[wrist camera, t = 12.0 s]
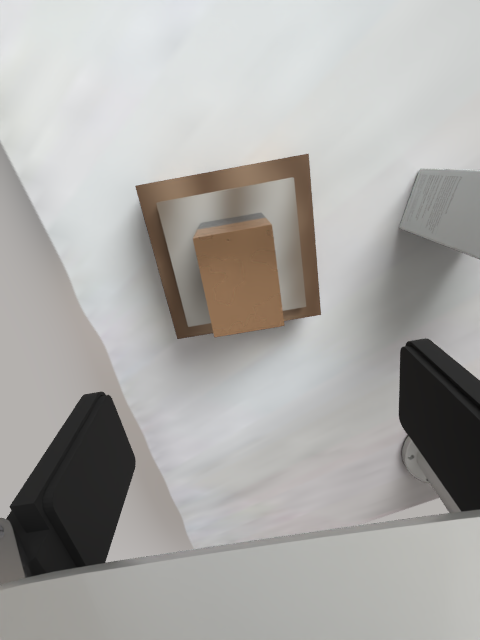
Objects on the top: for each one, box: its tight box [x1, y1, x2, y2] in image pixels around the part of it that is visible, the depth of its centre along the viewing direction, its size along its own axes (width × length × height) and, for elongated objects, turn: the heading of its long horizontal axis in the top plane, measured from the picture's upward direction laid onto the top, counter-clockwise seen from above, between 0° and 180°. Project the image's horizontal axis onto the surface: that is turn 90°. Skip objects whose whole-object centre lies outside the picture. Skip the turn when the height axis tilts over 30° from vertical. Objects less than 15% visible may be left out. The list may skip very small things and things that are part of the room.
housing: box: [193, 212, 284, 337], centre depth 25 cm, size 5×7×7 cm
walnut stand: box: [136, 154, 321, 339], centre depth 31 cm, size 14×14×6 cm
